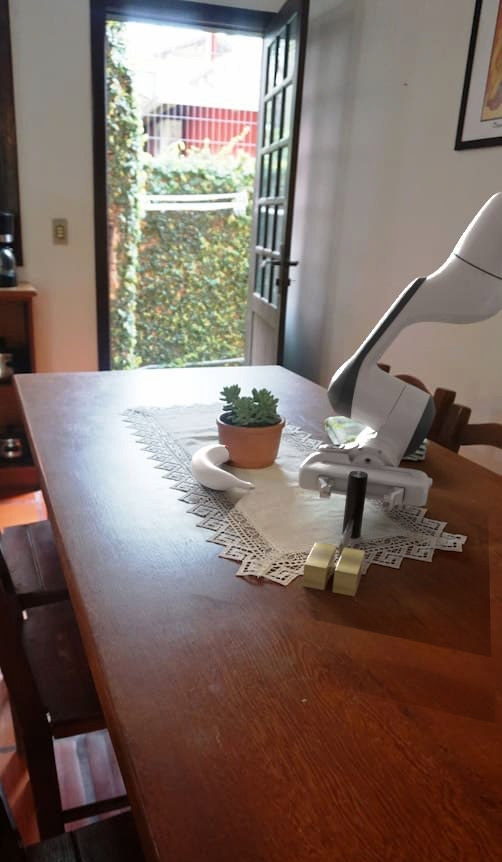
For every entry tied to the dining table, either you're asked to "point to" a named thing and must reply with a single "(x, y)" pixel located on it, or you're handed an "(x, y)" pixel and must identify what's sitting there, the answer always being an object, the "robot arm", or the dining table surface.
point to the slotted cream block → (345, 572)
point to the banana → (214, 469)
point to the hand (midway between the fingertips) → (355, 498)
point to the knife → (353, 508)
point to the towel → (349, 430)
